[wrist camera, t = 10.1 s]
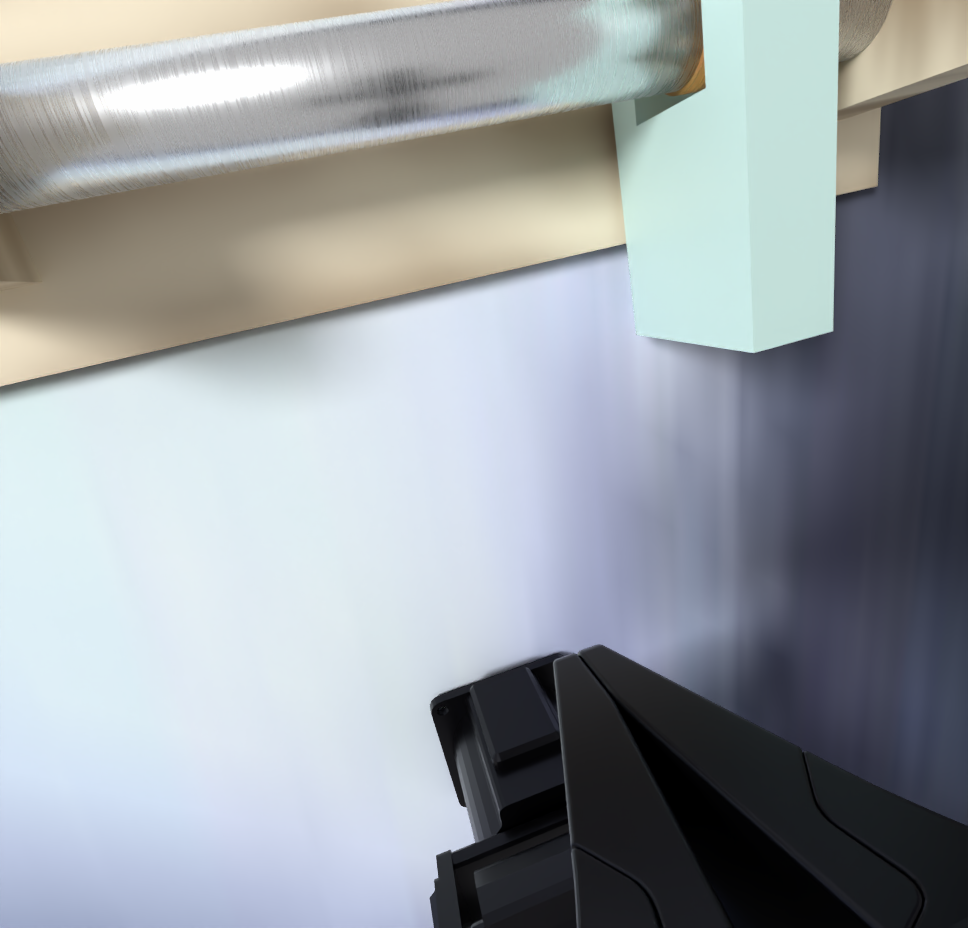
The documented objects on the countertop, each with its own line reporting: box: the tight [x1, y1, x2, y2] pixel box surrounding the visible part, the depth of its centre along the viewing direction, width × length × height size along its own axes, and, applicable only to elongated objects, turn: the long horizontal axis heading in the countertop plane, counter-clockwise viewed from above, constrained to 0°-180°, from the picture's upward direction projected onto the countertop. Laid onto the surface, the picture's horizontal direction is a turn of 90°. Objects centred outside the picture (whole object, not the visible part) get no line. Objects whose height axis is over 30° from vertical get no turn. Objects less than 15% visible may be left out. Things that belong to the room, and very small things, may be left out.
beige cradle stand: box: [0, 0, 968, 386], centre depth 14 cm, size 10×34×8 cm, turn 102°
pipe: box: [0, 0, 892, 214], centre depth 13 cm, size 3×30×3 cm, turn 102°
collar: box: [612, 0, 840, 353], centre depth 16 cm, size 11×2×6 cm, turn 12°
